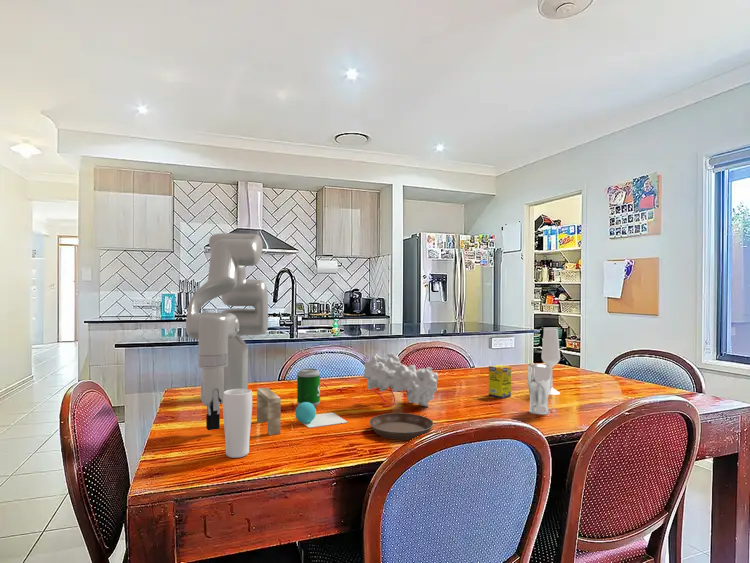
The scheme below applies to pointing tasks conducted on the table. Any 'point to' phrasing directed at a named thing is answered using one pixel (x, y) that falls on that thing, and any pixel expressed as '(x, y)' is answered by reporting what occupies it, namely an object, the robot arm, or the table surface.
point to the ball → (305, 412)
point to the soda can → (308, 386)
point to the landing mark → (325, 420)
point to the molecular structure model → (400, 379)
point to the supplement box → (500, 381)
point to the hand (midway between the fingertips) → (212, 428)
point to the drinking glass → (237, 421)
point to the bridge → (269, 409)
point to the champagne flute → (551, 352)
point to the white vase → (539, 388)
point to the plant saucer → (400, 425)
